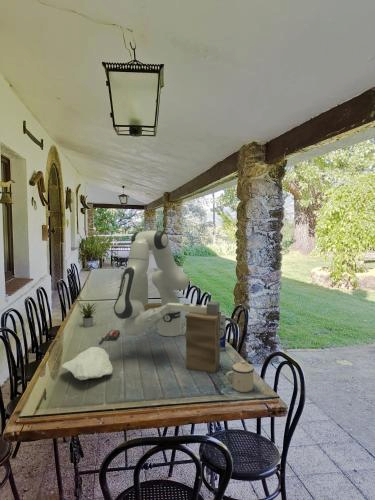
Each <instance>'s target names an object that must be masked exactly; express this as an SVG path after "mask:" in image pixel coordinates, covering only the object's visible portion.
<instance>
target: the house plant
mask: <svg viewBox="0 0 375 500" xmlns="http://www.w3.org/2000/svg"><path fill="white" fill-rule="evenodd" d="M84 304H85V305H86V307H85V305H83V304H82V303H80V305H81V306H82V311H80V310H79V313H80V314H81V315H82V322H83V327H84V328H92V327H93V322H94V316H93V315H95V314H97V312H96V311H95V310H96V308H95V307H97V306H98V304H96V302H95V303H93V304H91V305H90V303H89V302H84ZM95 304H96V305H95Z"/></svg>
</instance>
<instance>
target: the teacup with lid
mask: <svg viewBox="0 0 375 500" xmlns="http://www.w3.org/2000/svg"><path fill="white" fill-rule="evenodd" d="M254 372H255V368H254V366H253V365H252V364H250V363H247V362H246V360H241V361H240V362H236V363H235V364H233V365H232V370H231V371H228V372H226V374H225V380H226V381H227V382H228V383H229V384H232V388H233V389H234V390H235V391H237V392H242V393H248V392H250V391H252V390H253V389H254ZM231 374H232V380H230V379H228V377H229V375H231Z"/></svg>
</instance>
